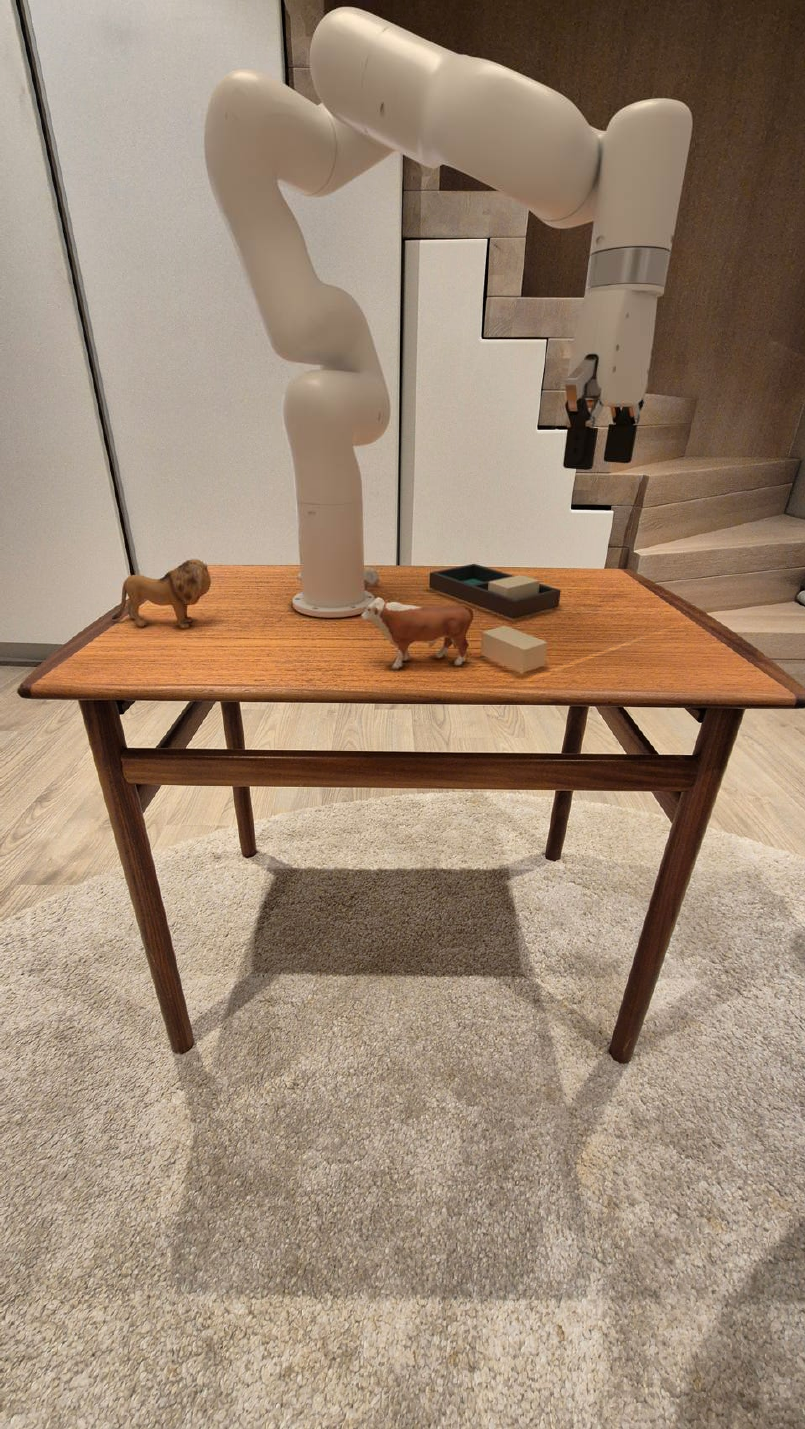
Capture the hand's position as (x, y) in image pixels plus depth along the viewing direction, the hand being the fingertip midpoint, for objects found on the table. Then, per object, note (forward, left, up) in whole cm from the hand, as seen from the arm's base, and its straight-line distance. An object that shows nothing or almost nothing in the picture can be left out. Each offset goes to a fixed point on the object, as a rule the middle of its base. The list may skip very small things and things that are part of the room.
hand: (598, 465), depth 67 cm
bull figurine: (-8, -19, -22) cm, 30 cm away
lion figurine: (-40, -39, -22) cm, 60 cm away
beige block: (-17, +6, -22) cm, 28 cm away
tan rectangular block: (-1, -10, -22) cm, 24 cm away
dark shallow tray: (-21, +6, -22) cm, 31 cm away
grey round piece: (-38, -6, -22) cm, 45 cm away
